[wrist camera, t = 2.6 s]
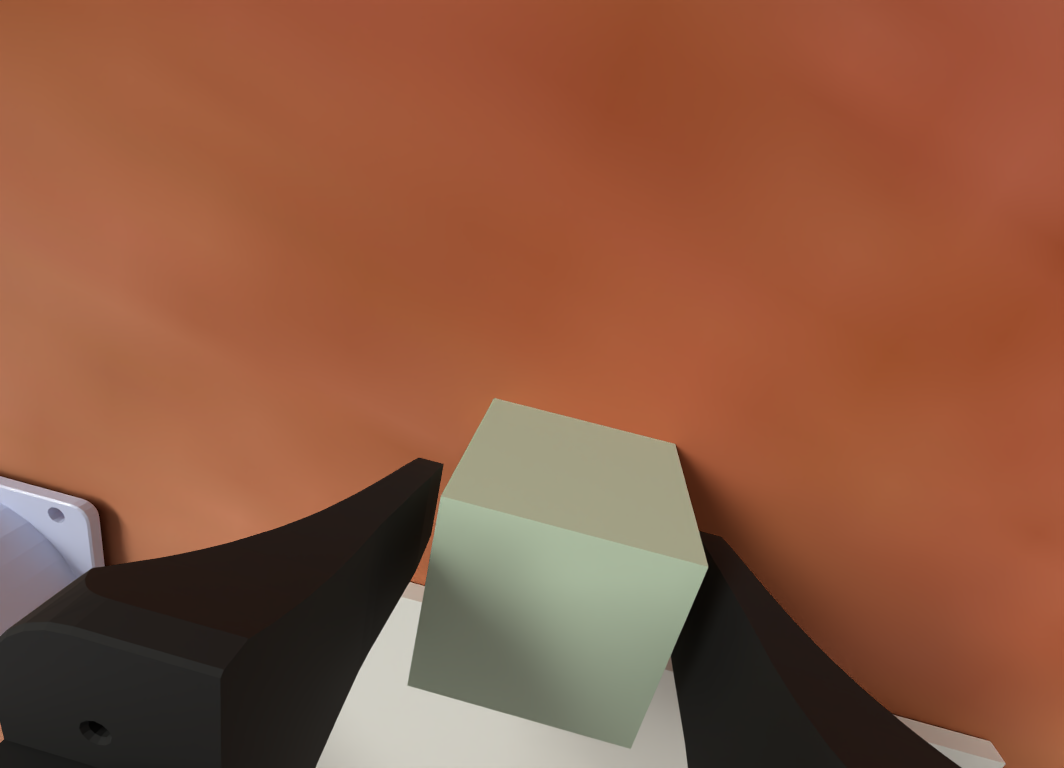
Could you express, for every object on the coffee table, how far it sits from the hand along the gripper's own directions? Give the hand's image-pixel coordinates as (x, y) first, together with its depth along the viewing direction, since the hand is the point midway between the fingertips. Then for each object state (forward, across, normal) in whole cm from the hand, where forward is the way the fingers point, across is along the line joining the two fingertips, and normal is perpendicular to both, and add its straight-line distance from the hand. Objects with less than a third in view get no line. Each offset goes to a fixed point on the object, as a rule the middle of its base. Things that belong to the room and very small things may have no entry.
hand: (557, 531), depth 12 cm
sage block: (+2, 0, 0) cm, 2 cm away
